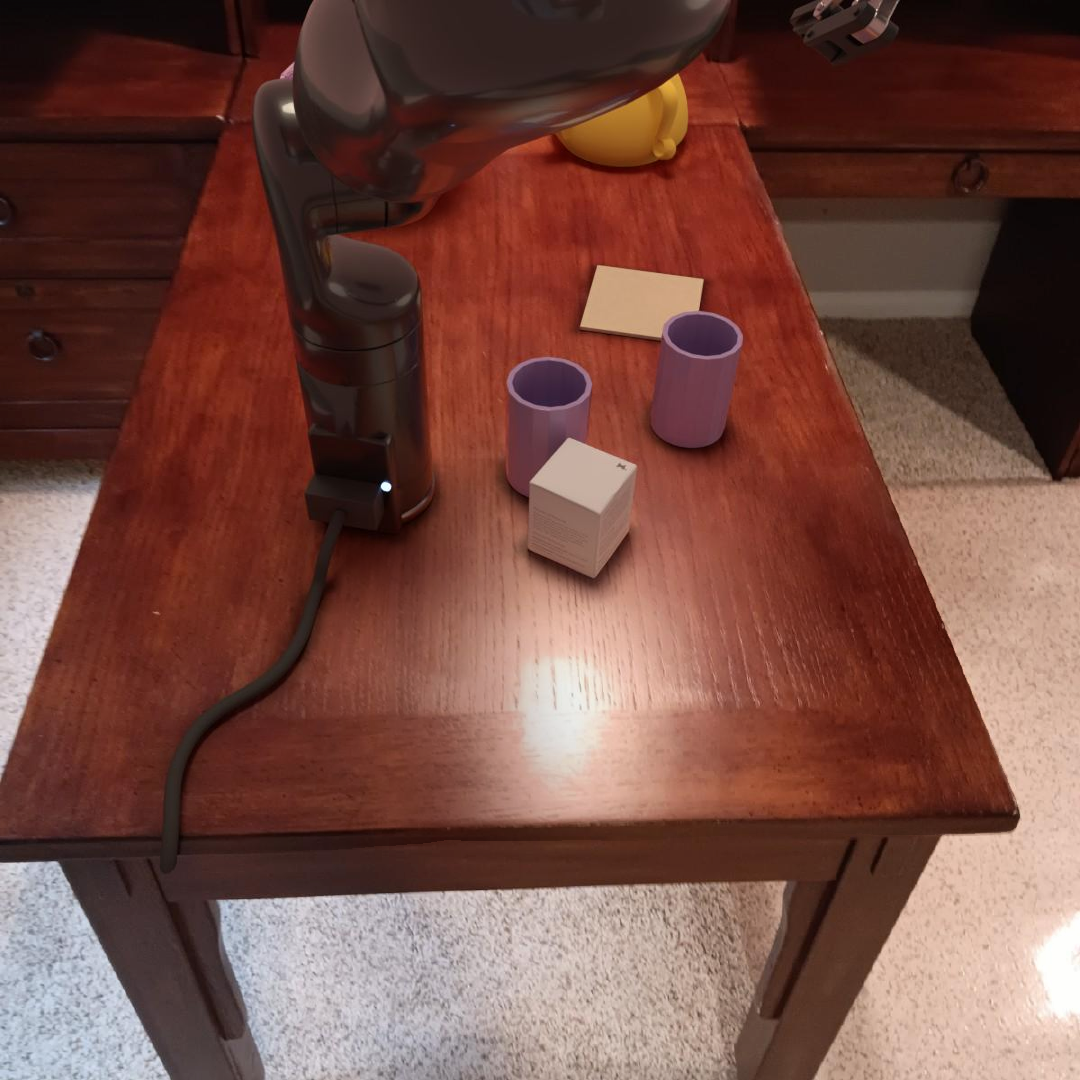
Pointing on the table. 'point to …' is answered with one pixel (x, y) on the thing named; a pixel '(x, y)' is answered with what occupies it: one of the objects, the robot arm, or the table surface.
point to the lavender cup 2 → (695, 378)
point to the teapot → (633, 129)
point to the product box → (580, 506)
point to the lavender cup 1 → (543, 414)
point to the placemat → (637, 301)
